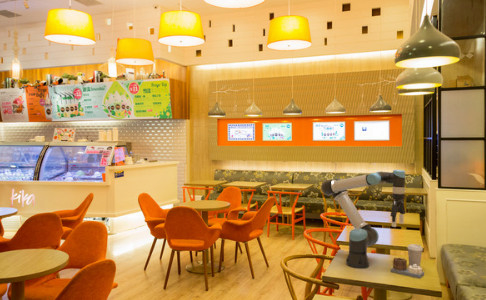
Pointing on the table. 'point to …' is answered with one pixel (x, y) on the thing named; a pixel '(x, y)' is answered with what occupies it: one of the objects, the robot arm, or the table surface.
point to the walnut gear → (399, 264)
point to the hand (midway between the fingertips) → (397, 225)
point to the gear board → (410, 271)
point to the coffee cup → (414, 254)
